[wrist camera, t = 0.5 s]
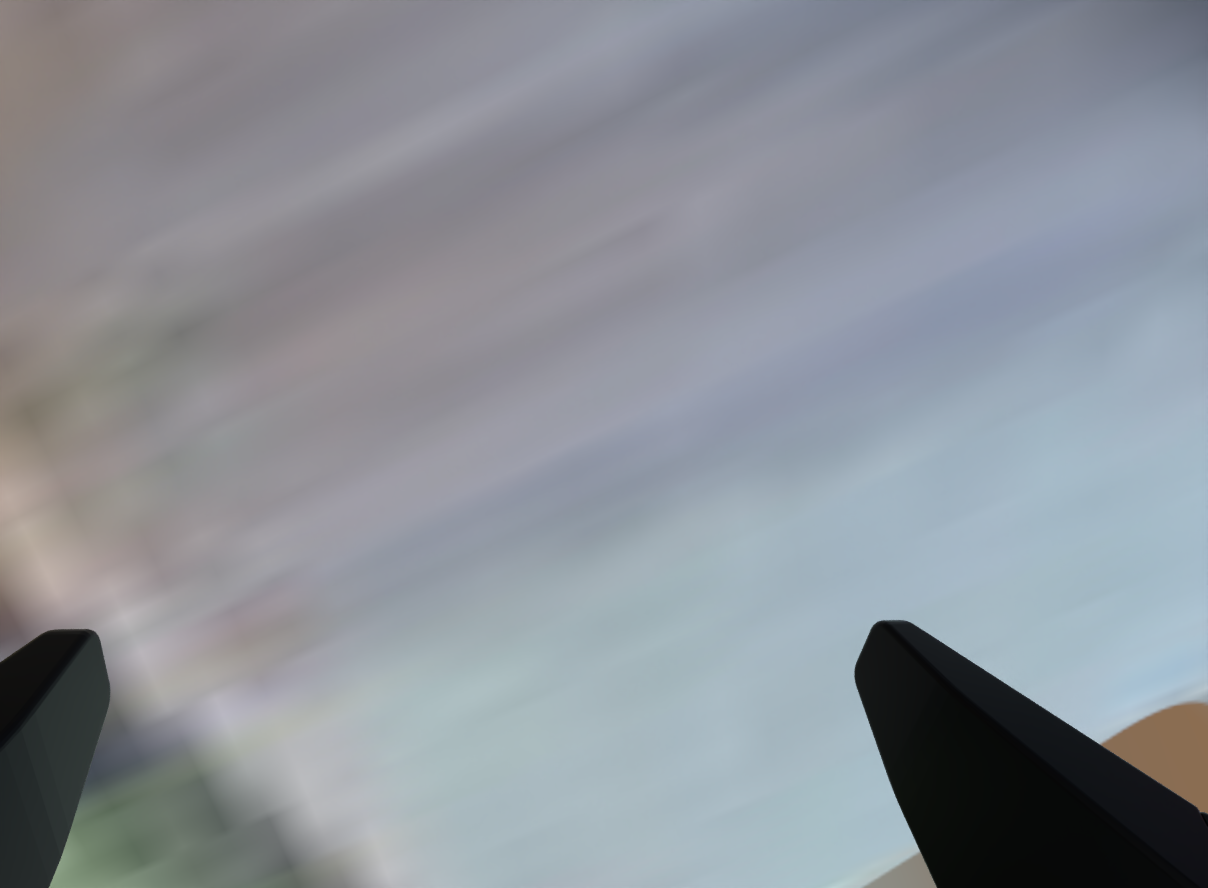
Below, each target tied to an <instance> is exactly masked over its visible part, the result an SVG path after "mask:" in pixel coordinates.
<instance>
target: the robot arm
mask: <svg viewBox="0 0 1208 888" xmlns="http://www.w3.org/2000/svg"><path fill="white" fill-rule="evenodd" d="M855 683H856V687H857V689H858V692H859V695H860V698H861V701H862V704H863V707H864V709H865V712H866V715H867V718H868V721H869V724H870V727H871V730H872V732H873V735H874V738H875V741H876V744H877V747H878V750H879V752H880V755H881V758H882V761H883V764H884V767H885V770H886V773H887V775H888V778H889V781H890V783H891V786H892V789H893V791H894V794H895V796H896V799H897V801H898V803H899V806H900V808H901V810H902V813H903V815H904V817H905V819H906V821H907V824H908V826H909V828H910V830H911V832H912V834H913V837H914V839H915V841H916V843H917V845H918V848H919V850H920V852H921V854H922V856H923V858H924V861H925V863H926V865H927V867H928V869H929V872H930V874H931V876H932V878H933V880H934V883H935V885H936V887H937V888H1208V814H1207V813H1205V812H1200V811H1199V810H1198V808H1197V807H1196V806H1194V805H1193V804H1191V803H1190V802H1188V801H1187V800H1185V799H1183V798H1182V797H1180V796H1179V795H1177V794H1176V793H1174V792H1172V791H1171V790H1170V789H1168V788H1166V787H1165V786H1163V785H1162V784H1160V783H1158V782H1157V781H1156V780H1154V779H1152V778H1151V777H1149V776H1148V775H1146V774H1145V773H1143V772H1142V771H1140V770H1139V769H1137V768H1135V767H1134V766H1132V765H1131V764H1129V763H1128V762H1126V761H1125V760H1123V759H1121V758H1120V757H1118V756H1117V755H1115V754H1114V753H1112V752H1110V751H1109V750H1107V749H1106V748H1104V747H1103V746H1101V745H1100V744H1098V743H1097V742H1095V741H1094V740H1092V739H1091V738H1089V737H1087V736H1086V735H1084V734H1083V733H1081V732H1080V731H1078V730H1077V729H1075V728H1073V727H1072V726H1070V725H1069V724H1067V723H1066V722H1064V721H1063V720H1061V719H1060V718H1058V717H1056V716H1055V715H1053V714H1052V713H1050V712H1049V711H1047V710H1046V709H1044V708H1042V707H1041V706H1039V705H1038V704H1036V703H1035V702H1033V701H1032V700H1030V699H1029V698H1027V697H1025V696H1024V695H1022V694H1021V693H1019V692H1018V691H1016V690H1015V689H1013V688H1011V687H1010V686H1008V685H1007V684H1005V683H1004V682H1002V681H1001V680H999V679H998V678H996V677H994V676H993V675H991V674H990V673H988V672H987V671H985V670H984V669H982V668H981V667H979V666H977V665H976V664H974V663H973V662H971V661H970V660H968V659H967V658H965V657H963V656H962V655H960V654H959V653H957V652H956V651H954V650H953V649H951V648H950V647H948V646H946V645H945V644H943V643H942V642H940V641H939V640H937V639H936V638H934V637H933V636H931V635H929V634H928V633H926V632H925V631H923V630H922V629H920V628H919V627H917V626H915V625H914V624H912V623H911V622H908V621H904V620H883V621H879V622H877V623H876V624H875V625H873V627H872V628H871V630H870V633H869V635H868V637H867V639H866V642H865V644H864V646H863V649H862V651H861V653H860V655H859V658H858V660H857V662H856V665H855ZM109 702H110V683H109V679H108V674H107V669H106V665H105V660H104V656H103V651H102V646H101V642H100V639H99V636H98V635H97V633H96V632H94V631H92V630H89V629H58V630H50V631H47V632H45V633H43V634H41V635H39V636H38V637H36V638H35V639H33V640H32V641H31V642H29V643H28V644H26V645H25V646H23V647H22V648H20V649H19V650H17V651H16V652H15V653H13V654H12V655H10V656H9V657H7V658H6V659H4V660H3V661H2V662H0V888H49V886H50V883H51V881H52V879H53V876H54V874H55V871H56V869H57V866H58V864H59V861H60V859H61V856H62V853H63V850H64V847H65V844H66V842H67V839H68V836H69V833H70V829H71V826H72V823H73V820H74V817H75V813H76V810H77V807H78V804H79V801H80V797H81V794H82V791H83V788H84V785H85V781H86V778H87V775H88V772H89V769H90V765H91V762H92V759H93V756H94V753H95V749H96V746H97V743H98V740H99V737H100V733H101V730H102V727H103V724H104V721H105V717H106V714H107V711H108V707H109Z"/></svg>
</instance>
